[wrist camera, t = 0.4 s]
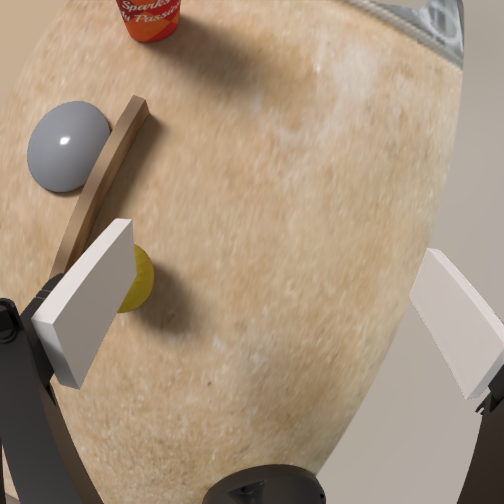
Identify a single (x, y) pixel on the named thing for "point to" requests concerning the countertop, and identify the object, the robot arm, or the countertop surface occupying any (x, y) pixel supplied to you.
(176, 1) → the paper cup
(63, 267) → the divider
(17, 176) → the countertop surface
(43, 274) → the countertop surface
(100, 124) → the coaster
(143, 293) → the lemon
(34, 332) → the robot arm
